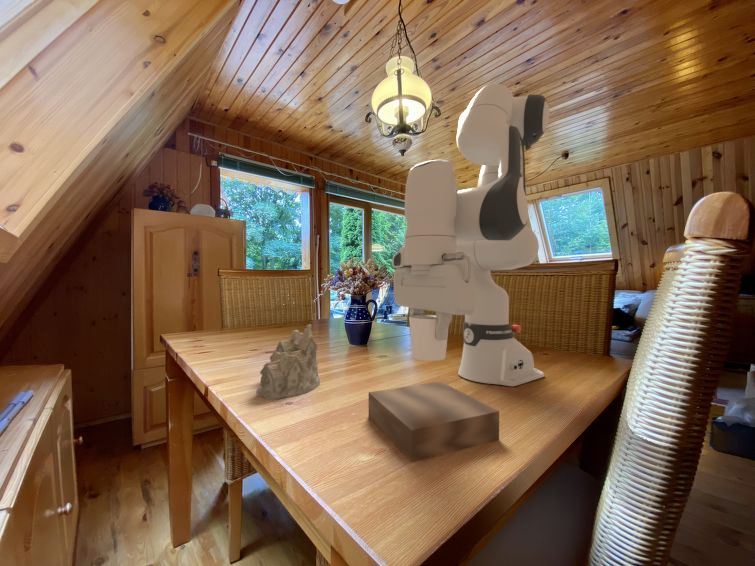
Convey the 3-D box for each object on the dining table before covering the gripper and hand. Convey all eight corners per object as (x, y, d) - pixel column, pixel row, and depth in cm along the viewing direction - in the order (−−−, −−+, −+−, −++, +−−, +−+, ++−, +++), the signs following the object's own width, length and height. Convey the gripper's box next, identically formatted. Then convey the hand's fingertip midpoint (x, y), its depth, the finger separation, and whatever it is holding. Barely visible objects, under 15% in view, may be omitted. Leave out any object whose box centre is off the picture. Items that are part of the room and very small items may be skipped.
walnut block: (440, 405, 65) (440, 381, 65) (499, 442, 50) (499, 411, 50) (368, 419, 58) (368, 392, 58) (411, 465, 44) (411, 430, 44)
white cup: (450, 362, 50) (450, 318, 50) (406, 360, 51) (407, 317, 51) (448, 353, 57) (448, 314, 57) (410, 351, 58) (410, 313, 58)
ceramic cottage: (297, 370, 87) (295, 317, 86) (332, 387, 76) (330, 326, 74) (240, 387, 77) (237, 326, 75) (270, 410, 65) (267, 338, 64)
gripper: (487, 251, 46) (486, 346, 46) (415, 260, 64) (415, 327, 65) (452, 249, 43) (450, 350, 43) (388, 259, 62) (387, 329, 62)
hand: (429, 336), depth 54 cm, fingers closed on white cup, 5 cm apart
